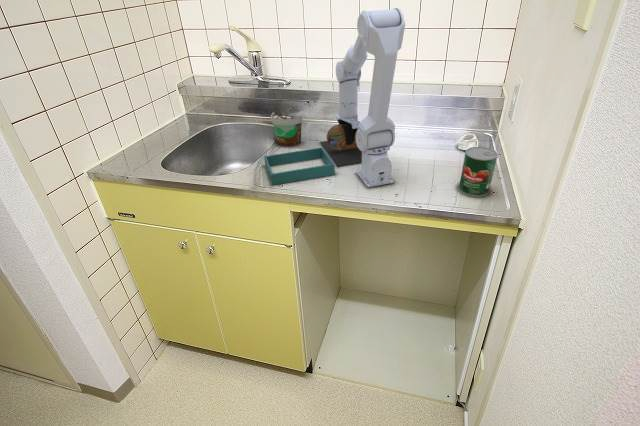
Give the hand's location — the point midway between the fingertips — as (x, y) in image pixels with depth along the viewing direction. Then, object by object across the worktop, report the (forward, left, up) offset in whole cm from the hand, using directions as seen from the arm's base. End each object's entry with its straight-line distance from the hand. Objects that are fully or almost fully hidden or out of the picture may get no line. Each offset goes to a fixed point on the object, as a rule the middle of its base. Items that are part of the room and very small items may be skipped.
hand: (348, 141), depth 127 cm
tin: (0, 0, -2) cm, 2 cm away
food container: (+14, +19, -4) cm, 24 cm away
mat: (0, -1, -3) cm, 4 cm away
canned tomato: (-36, -24, -4) cm, 43 cm away
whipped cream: (-12, -38, -4) cm, 40 cm away
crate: (-8, +19, -3) cm, 21 cm away
